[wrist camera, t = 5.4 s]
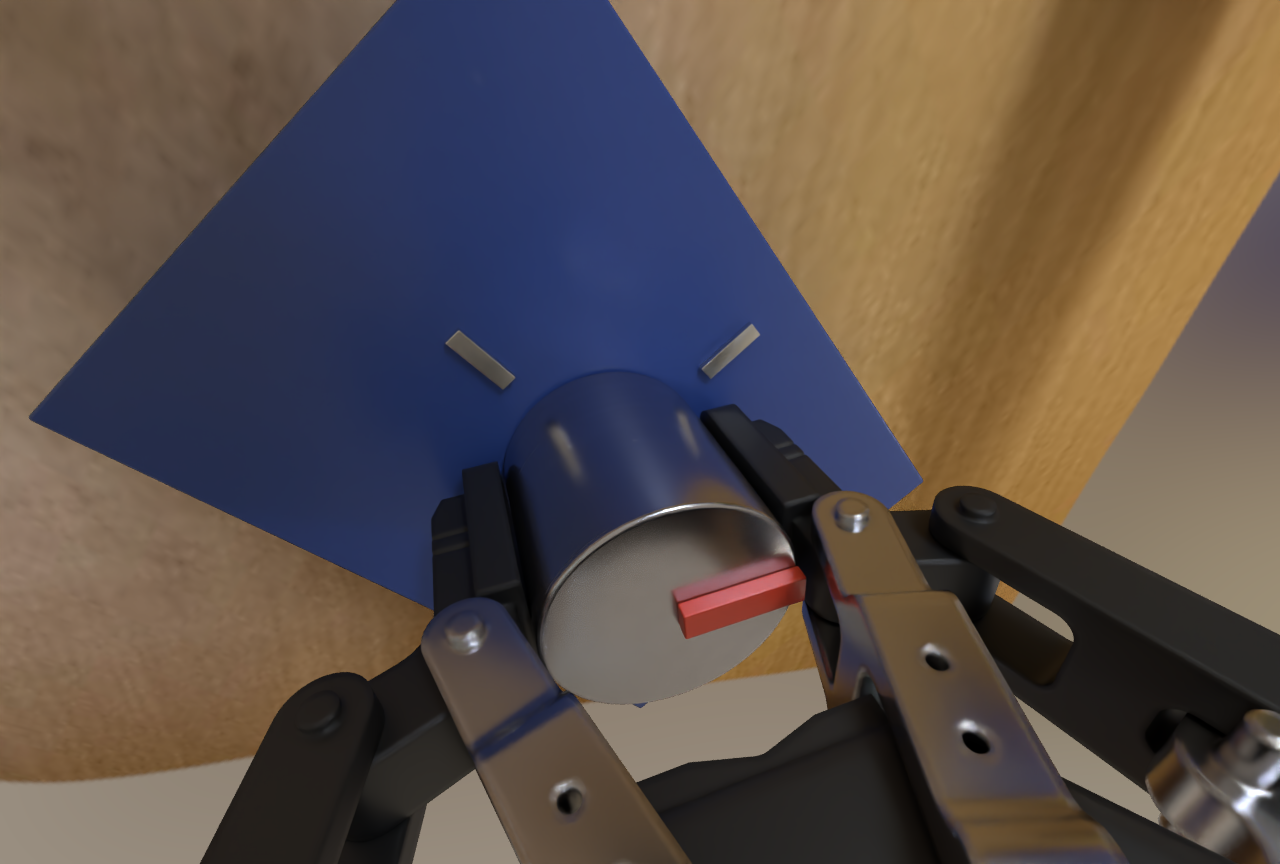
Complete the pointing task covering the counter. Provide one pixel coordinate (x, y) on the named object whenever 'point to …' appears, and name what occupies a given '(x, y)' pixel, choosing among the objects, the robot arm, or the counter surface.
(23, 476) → the counter surface
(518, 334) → the blue knob base block
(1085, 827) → the robot arm
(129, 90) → the counter surface
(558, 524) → the silver pointer knob
